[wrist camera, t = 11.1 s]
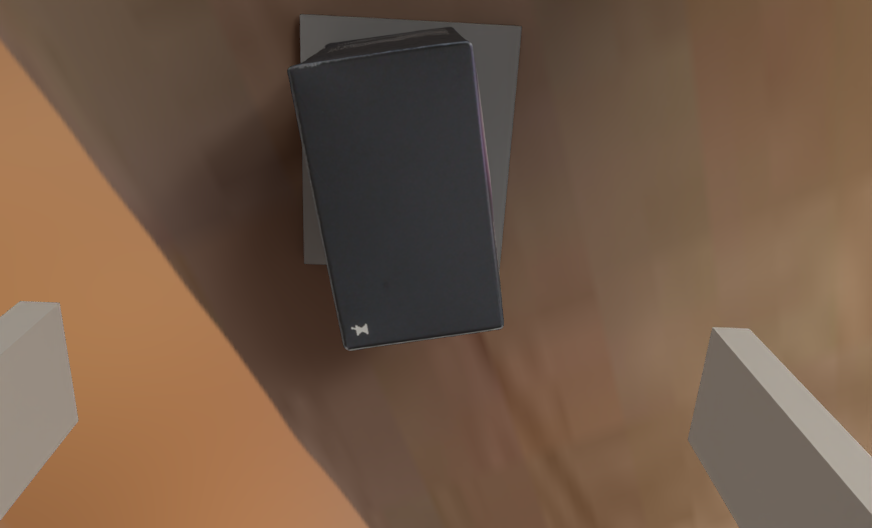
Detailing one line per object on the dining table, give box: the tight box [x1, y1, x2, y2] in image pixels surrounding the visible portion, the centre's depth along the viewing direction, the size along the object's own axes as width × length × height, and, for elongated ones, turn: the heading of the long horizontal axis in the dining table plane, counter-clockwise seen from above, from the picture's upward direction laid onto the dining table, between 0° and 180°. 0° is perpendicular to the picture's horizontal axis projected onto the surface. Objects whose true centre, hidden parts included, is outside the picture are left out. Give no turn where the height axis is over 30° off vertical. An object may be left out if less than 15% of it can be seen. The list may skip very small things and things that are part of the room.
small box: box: [287, 27, 504, 351], centre depth 29 cm, size 11×6×10 cm, turn 8°
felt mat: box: [300, 14, 522, 269], centre depth 34 cm, size 10×12×1 cm
